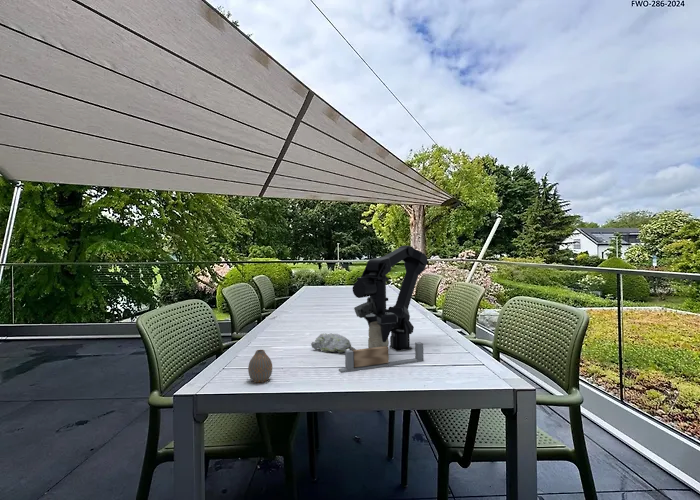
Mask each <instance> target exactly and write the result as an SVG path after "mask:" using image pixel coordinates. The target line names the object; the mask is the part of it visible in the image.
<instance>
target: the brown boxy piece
mask: <svg viewBox="0 0 700 500" xmlns="http://www.w3.org/2000/svg"><path fill="white" fill-rule="evenodd" d="M348 350H352V351H353V355H354V367H361V366H368V365H375V364H383V363H389V362H390V361H389V359H390V357H389V346H388V347H387V346H383V347H375V348H361V349H359V348H358V349H357V348H354V347H353V346H352V347H350V348H349V349H348Z"/></svg>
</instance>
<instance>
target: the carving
mask: <svg viewBox="0 0 700 500" xmlns="http://www.w3.org/2000/svg"><path fill="white" fill-rule="evenodd" d="M377 323H379V322H378V321H376V322H371V323H370V325H368V339H367V347H368V348H375V347H383V346H387V347H388V348H389V343H390V340H389V337H388V338H387V340H386V342H383V341H382V334H381V327H380V326H379V325H378V324H377Z"/></svg>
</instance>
